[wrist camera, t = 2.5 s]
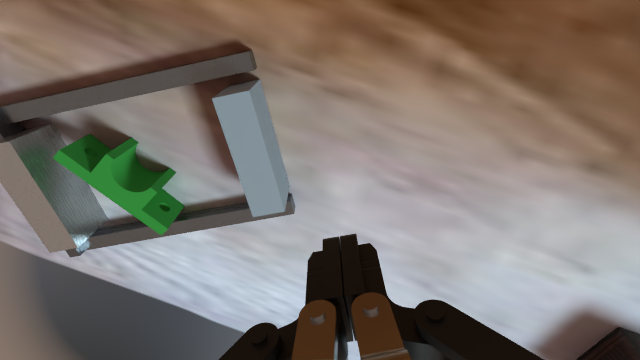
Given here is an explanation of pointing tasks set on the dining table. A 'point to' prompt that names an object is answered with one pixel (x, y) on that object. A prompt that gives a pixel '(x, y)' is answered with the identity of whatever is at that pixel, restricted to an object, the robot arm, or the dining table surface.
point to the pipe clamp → (123, 179)
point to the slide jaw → (253, 146)
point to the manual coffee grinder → (615, 347)
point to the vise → (74, 193)
